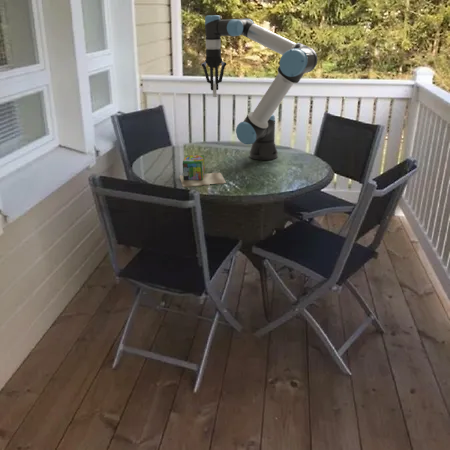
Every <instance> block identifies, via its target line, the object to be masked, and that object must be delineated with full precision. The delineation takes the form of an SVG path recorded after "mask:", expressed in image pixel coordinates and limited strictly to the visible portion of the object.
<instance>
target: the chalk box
mask: <svg viewBox="0 0 450 450" xmlns="http://www.w3.org/2000/svg"><path fill="white" fill-rule="evenodd" d="M182 174H183V178H184V180H202V179H203V177H204V174H206V165H205V155H201V154H195V155H192V154H191V155H185V156H184V159H183V161H182Z"/></svg>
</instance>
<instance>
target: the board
mask: <svg viewBox="0 0 450 450" xmlns="http://www.w3.org/2000/svg"><path fill="white" fill-rule="evenodd" d="M179 179H180V182H181V185H182V188H187V187H188V188H191V187H200V186H201V187H203V186H202V185H204V186H211V185H210V184H217V185H225V184H224V183H226V184H227V181H226V180H225V178H224V176H223V174H222V173H221V172H212V173H211V172H210V173H205V174H204V177H203V179H202V180H184V178H183V175H181V174H180V175H179Z"/></svg>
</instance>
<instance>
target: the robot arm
mask: <svg viewBox="0 0 450 450" xmlns="http://www.w3.org/2000/svg"><path fill="white" fill-rule="evenodd" d="M204 30H205V31H204V33H205V48H206V49H205V60H204V62H202V63H201V64H200V66H201V67H202V69H203V72H204V76H205V80H206V82H207V83H208V84H210V90H211V91H212V97H213V98H216V97H217V91H218V90H219V84H220V83H222V81H223V76H224V71H225V68H226V65H227V63H226V62H225V61H223V59H222V49H221V47H222V42H221V41H222V40H221V39H222V38H221V37H239V36H243V37H245V38H247V39H250V40H251V41H253V42H255V43H257V44H259V45H261V46H264V47H265V48H267V49H270V50H271V51H272V52H273V51H274V52H275V53H277V54H279V55H281V57H280V59H279V65H278V67H277V75H276V76H275V78H274V80H273V81H272V83H271V84H270V86H269V87H268V89H267V90H266V92H265V93H264V95H263V96H262V98H261V100H260V101H259V102H258V104H257V105H256V107H255V109H254V110H253V111H250V112H248V114H247V115H246V117H245V119H244V120H243V121H241V122H239V123H238V124H237V126H236V128H235V134H236V137H237V139H238V141H239V142H240V143H241V144H244V145H251V147H250V150H249V158H250V159H253V160H256V161H257V160H259V161H270V160H274V159H277V158H278V156H279V155H278V150H277V147H276V142H275V139H276V138H275V132H276V129H275V128H276V118H275V115H274V113H275V112H276V110H277V108H278V107H279V106H280V105H281V103H282V101H283V100H284V98H285V96H286V95H287V94H288V93H289V91H290V89H291V88H292V87H293V85H294V84H295V85H297V84H299V82H300V80H302V78H303V76H304V75H305V74H307V73H310V72H312V71H313V70H314V69H315V68H316V66H317V64H318V59H319V58H318V54H317V52H316V51H315V50H314V49H313V48H312V47H309V46H308V45H305V44H303V43H301V42H297V43H296V42H294V41H292V40H289V39H288V38H285V37H283V36H281V35H280V34H278V33H275V32H273V31H271V30H269V29H267V28H264V27H263V26H261V25H259V24H256V23H255V22H254V20H252V19H250V18H246V17H245V18H244V17H243V18H231V19H226V18H225V19H221V15H217V14H215V15H212V14H211V15H208V14H207V15H205V18H204ZM220 65H221V68H220V71H219V67H220ZM207 66H208V68H209V73H208V70H207ZM214 76H215V77H214ZM214 80H215V81H214Z"/></svg>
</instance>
